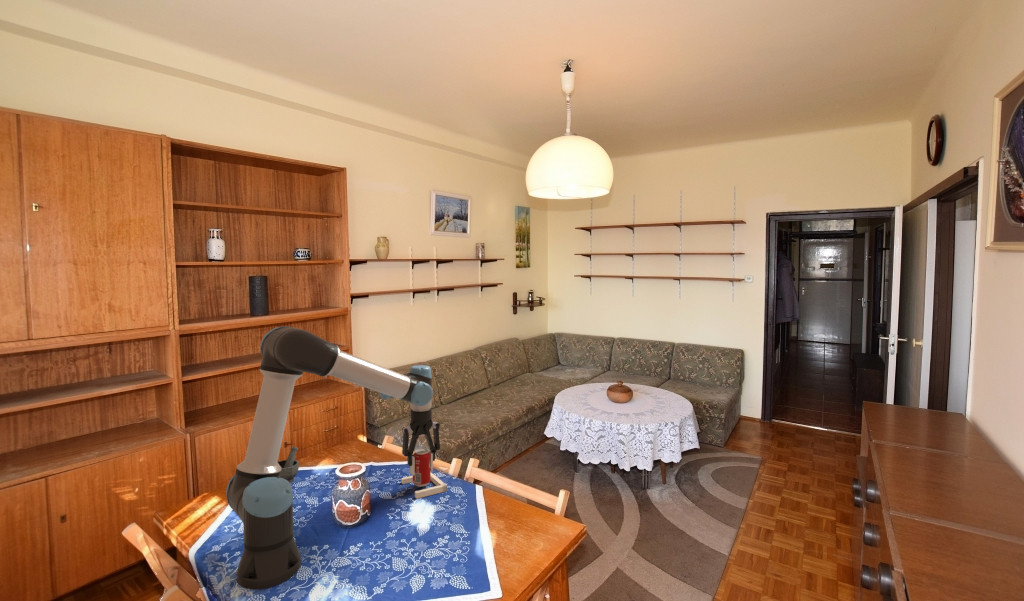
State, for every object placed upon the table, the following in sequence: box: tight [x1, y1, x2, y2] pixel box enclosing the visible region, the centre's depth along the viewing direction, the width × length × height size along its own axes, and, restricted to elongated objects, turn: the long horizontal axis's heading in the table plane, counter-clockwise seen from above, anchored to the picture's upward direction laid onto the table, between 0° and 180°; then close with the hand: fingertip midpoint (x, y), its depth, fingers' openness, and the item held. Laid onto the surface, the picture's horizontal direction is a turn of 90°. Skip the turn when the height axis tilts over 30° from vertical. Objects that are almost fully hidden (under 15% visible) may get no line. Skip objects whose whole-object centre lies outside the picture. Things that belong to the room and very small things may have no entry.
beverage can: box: [412, 448, 431, 488], centre depth 175 cm, size 6×6×12 cm
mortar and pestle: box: [277, 446, 300, 484], centre depth 181 cm, size 11×9×12 cm
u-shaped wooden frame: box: [400, 471, 448, 500], centre depth 176 cm, size 15×12×2 cm
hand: (421, 471), depth 175 cm, fingers closed on beverage can, 6 cm apart
